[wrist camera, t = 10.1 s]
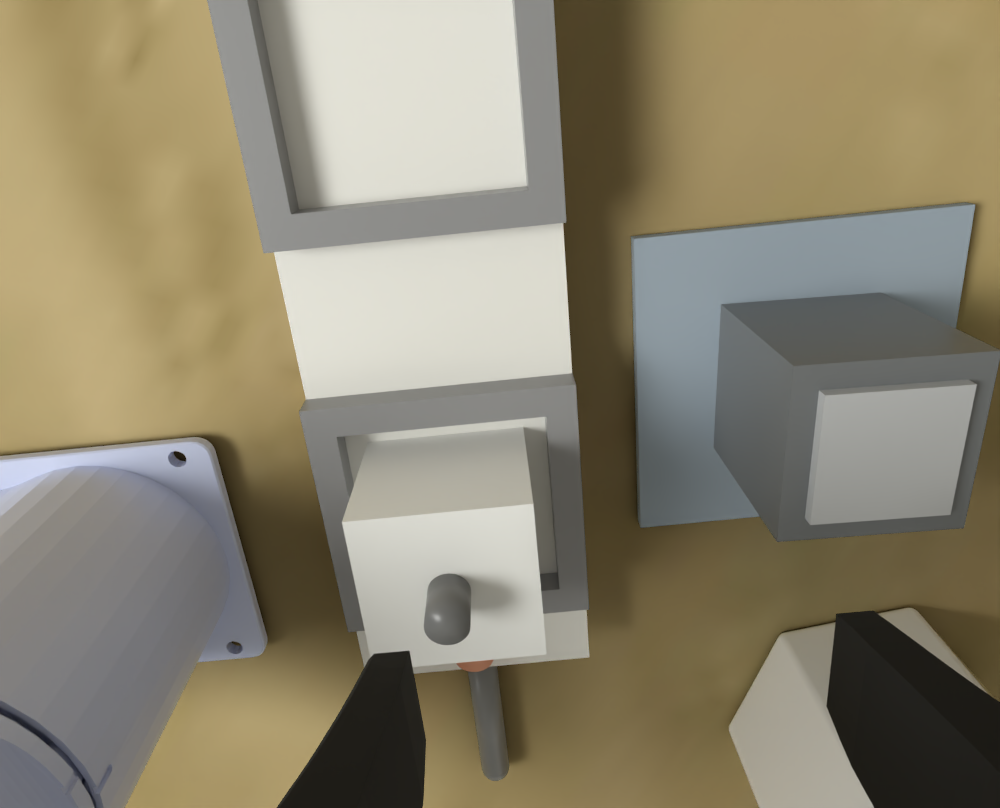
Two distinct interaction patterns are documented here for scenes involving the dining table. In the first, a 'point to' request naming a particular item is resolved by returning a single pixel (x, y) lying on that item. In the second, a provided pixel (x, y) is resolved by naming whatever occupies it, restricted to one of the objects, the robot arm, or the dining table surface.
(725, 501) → the mat
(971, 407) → the block
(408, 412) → the power strip
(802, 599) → the dining table surface
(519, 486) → the white plug
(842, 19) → the dining table surface
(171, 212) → the dining table surface
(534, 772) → the dining table surface
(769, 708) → the jar
